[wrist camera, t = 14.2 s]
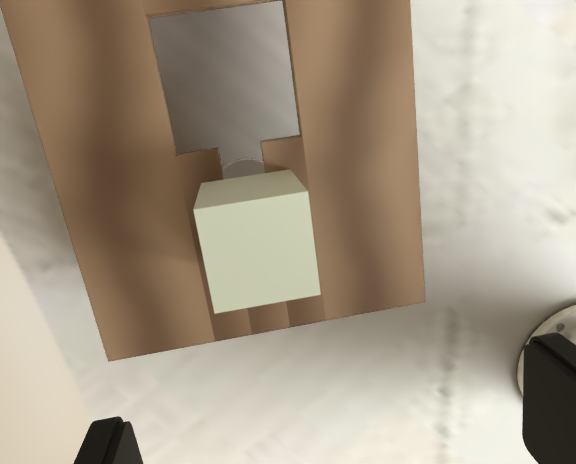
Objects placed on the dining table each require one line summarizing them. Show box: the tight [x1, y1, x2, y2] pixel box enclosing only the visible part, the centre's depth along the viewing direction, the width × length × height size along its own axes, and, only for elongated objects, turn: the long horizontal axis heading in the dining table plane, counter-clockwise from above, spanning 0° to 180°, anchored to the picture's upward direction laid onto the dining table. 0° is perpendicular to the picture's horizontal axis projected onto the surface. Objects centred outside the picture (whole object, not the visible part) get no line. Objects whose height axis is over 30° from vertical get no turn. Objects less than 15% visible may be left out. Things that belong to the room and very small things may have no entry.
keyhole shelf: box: [0, 0, 425, 362], centre depth 30 cm, size 20×22×10 cm
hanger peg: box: [193, 158, 321, 314], centre depth 27 cm, size 5×5×13 cm
